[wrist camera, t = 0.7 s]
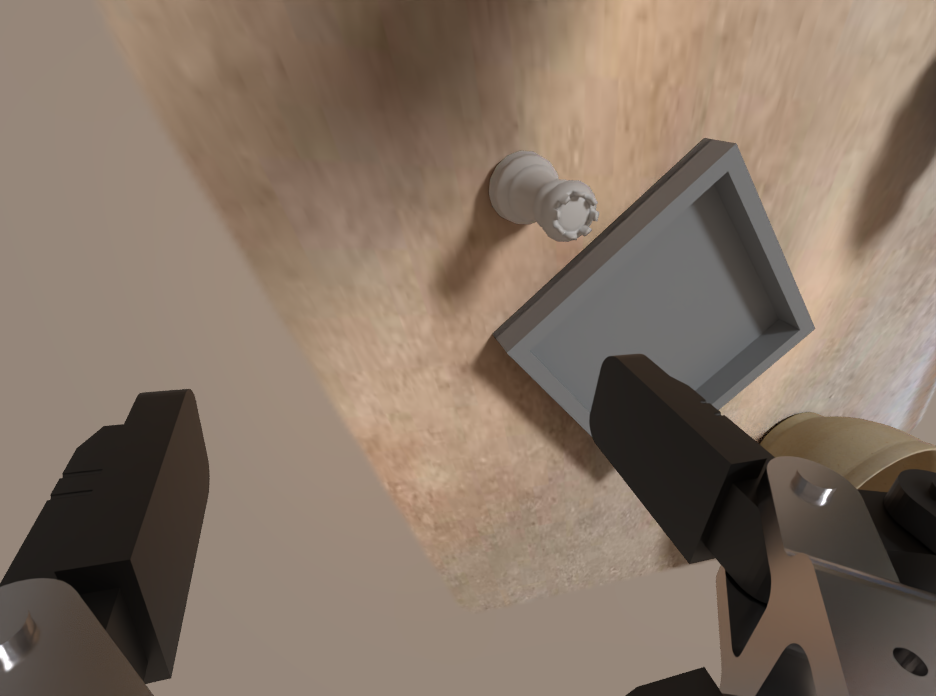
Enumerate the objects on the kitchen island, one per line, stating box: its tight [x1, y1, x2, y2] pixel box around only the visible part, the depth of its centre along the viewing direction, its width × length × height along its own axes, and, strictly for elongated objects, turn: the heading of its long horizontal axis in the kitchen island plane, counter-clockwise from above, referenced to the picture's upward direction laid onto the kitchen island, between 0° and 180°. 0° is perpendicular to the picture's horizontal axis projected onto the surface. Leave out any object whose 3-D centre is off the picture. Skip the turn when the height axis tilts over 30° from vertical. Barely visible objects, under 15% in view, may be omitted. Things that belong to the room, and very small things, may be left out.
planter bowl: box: [760, 412, 936, 492], centre depth 51 cm, size 16×16×11 cm
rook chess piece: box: [489, 151, 599, 242], centre depth 30 cm, size 4×4×8 cm
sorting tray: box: [493, 138, 815, 436], centre depth 40 cm, size 20×20×3 cm
